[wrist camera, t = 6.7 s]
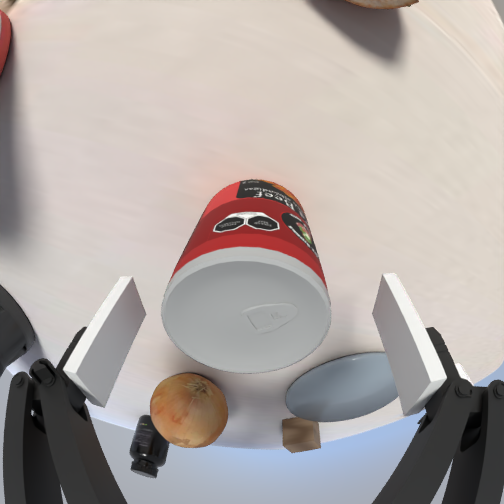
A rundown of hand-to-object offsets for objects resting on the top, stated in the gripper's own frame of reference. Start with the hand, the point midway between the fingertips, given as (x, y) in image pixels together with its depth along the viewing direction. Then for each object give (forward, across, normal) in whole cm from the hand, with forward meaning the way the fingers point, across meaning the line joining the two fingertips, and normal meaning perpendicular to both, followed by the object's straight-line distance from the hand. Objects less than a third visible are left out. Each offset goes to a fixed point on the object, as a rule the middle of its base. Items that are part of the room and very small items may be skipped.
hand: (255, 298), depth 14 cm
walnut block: (+9, +5, -36) cm, 38 cm away
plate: (+9, +11, -25) cm, 29 cm away
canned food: (+9, -1, 0) cm, 9 cm away
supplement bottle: (+9, -22, -40) cm, 46 cm away
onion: (+9, -10, -22) cm, 26 cm away
